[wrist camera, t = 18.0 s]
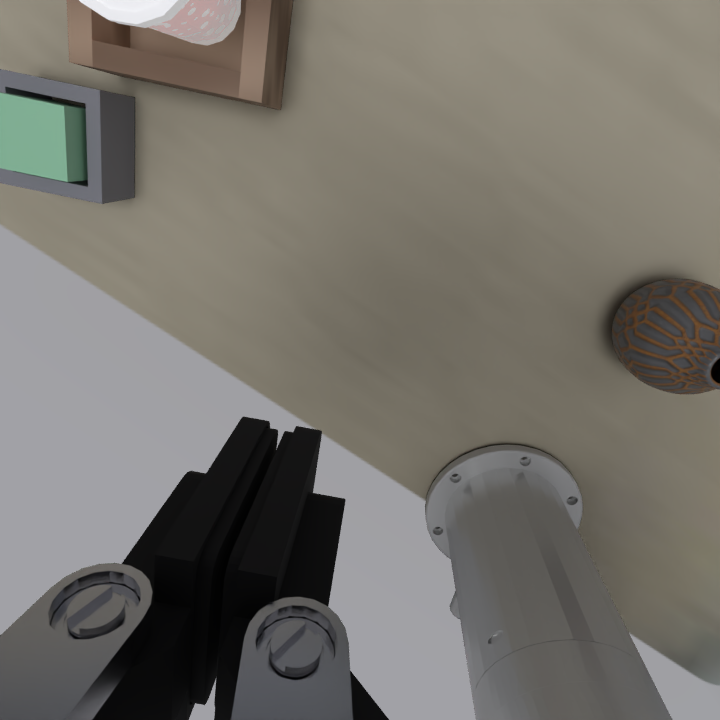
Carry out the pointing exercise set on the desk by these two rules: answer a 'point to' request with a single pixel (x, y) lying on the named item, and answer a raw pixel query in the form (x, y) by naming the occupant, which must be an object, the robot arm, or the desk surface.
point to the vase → (671, 335)
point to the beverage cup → (174, 16)
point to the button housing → (104, 140)
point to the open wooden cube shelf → (191, 53)
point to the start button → (43, 137)
